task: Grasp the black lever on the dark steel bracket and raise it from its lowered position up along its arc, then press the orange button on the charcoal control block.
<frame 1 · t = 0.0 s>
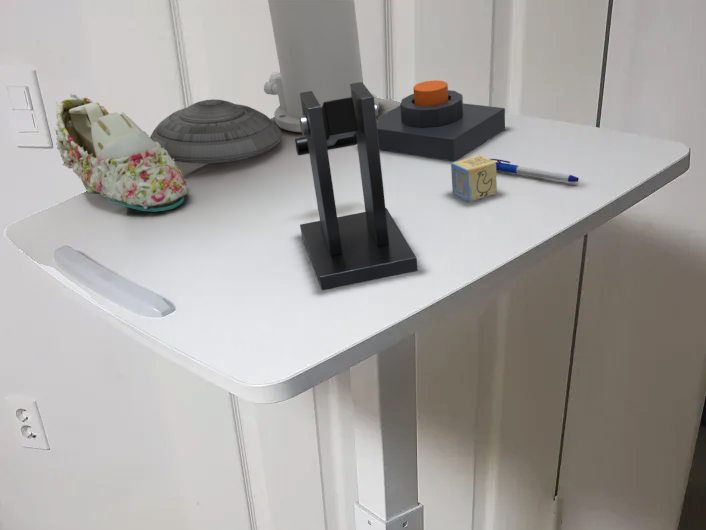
ballpoint pen: (528, 177, 81), on the table
button: (430, 94, 89), point 4 cm above the table, slide at 0.1 cm
bracket: (356, 253, 72), on the table
control block: (433, 138, 92), on the table
ballet flat: (119, 186, 92), on the table
flying saucer: (217, 154, 96), on the table
alphabet block: (474, 196, 79), on the table
lever: (332, 130, 70), point 9 cm above the table, hinge at -25.0°
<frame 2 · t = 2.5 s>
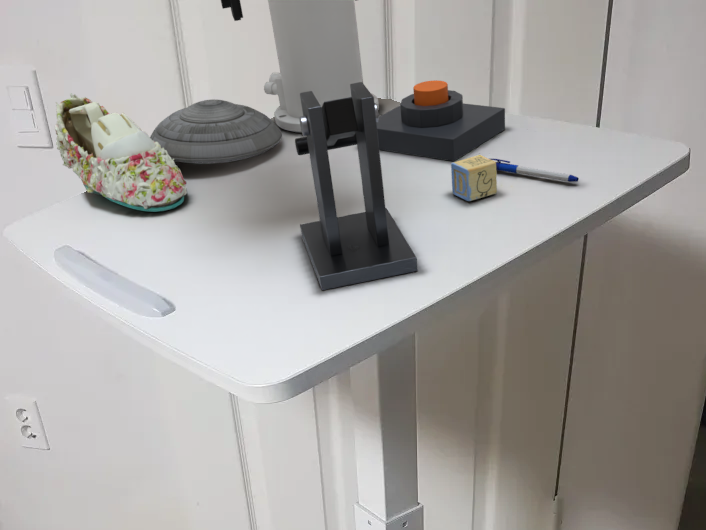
hand: (296, 7, 68), 17 cm above the table, tool pointing down, fingers open, 9 cm apart
nothing on the table moved.
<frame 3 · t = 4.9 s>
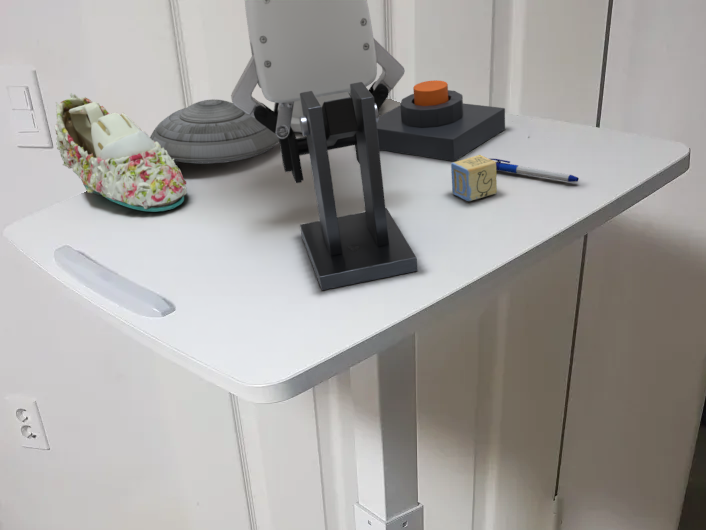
hand: (330, 169, 77), 4 cm above the table, tool pointing down, fingers closed on lever, 5 cm apart
lever: (332, 130, 70), point 9 cm above the table, hinge at -25.0°, touching gripper
everything else where it was.
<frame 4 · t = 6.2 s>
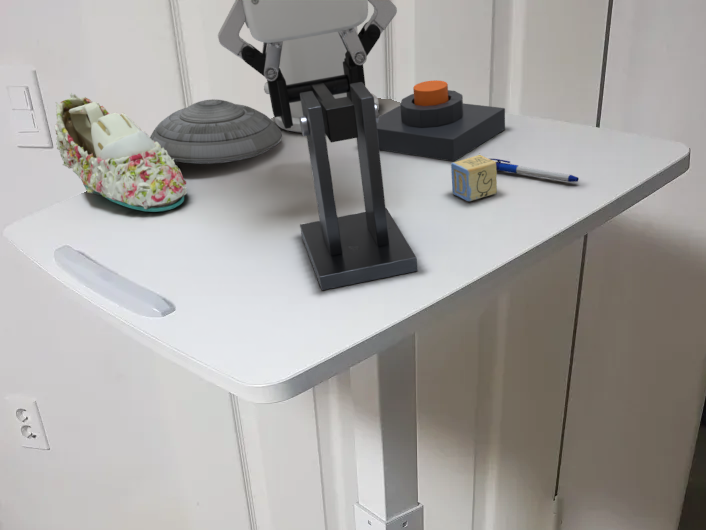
hand: (321, 115, 75), 8 cm above the table, tool pointing down, fingers closed on lever, 5 cm apart
lever: (328, 104, 69), point 11 cm above the table, hinge at -2.4°, touching gripper
everything else where it was.
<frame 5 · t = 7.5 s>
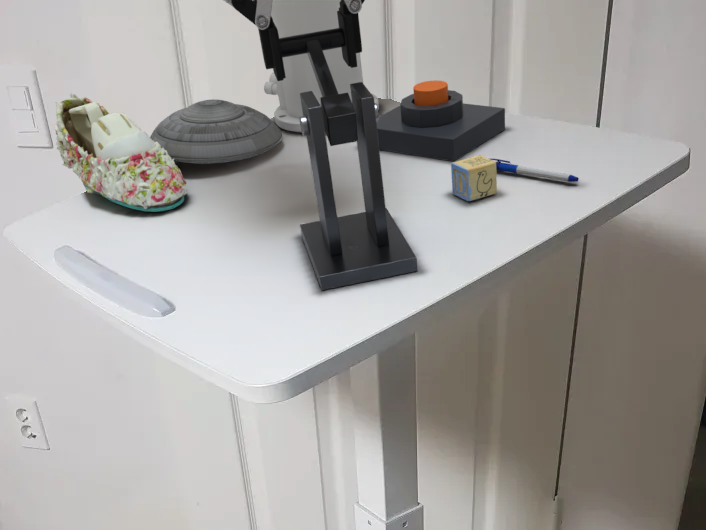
hand: (314, 67, 72), 12 cm above the table, tool pointing down, fingers closed on lever, 5 cm apart
lever: (325, 81, 68), point 13 cm above the table, hinge at 17.3°, touching gripper
everything else where it was.
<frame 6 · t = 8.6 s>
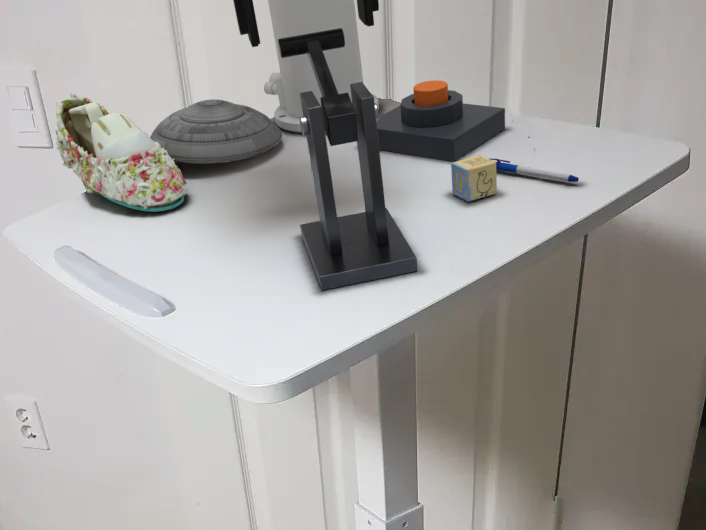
hand: (310, 32, 71), 15 cm above the table, tool pointing down, fingers open, 9 cm apart
lever: (325, 82, 68), point 13 cm above the table, hinge at 17.2°
everything else where it was.
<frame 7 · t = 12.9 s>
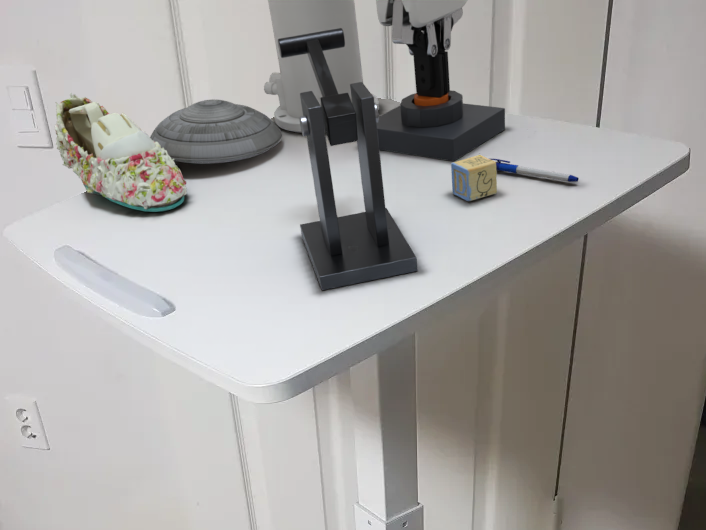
hand: (433, 94, 89), 5 cm above the table, tool pointing down, fingers closed
button: (431, 102, 89), point 4 cm above the table, slide at -0.7 cm, touching gripper
everything else where it was.
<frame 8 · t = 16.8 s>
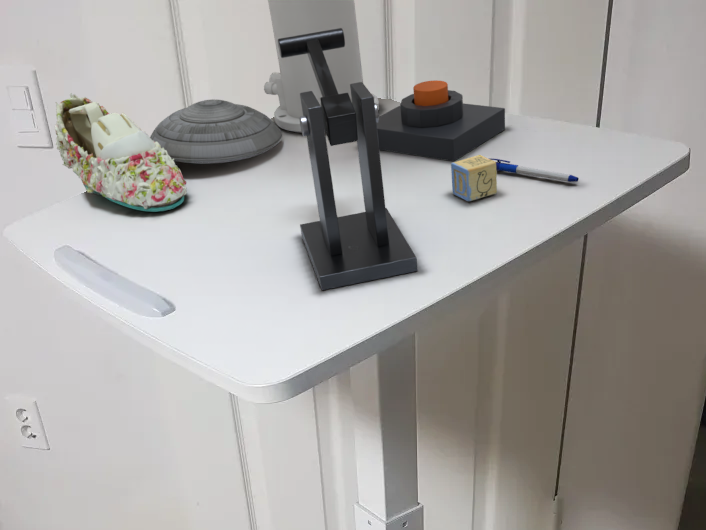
button: (430, 94, 89), point 4 cm above the table, slide at 0.1 cm
everything else where it was.
at the end: lever at +17° (first picture: -25°); button pushed in 1.0 cm at the most during the clip, back to where it started at the end; button slide at 0.1 cm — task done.
